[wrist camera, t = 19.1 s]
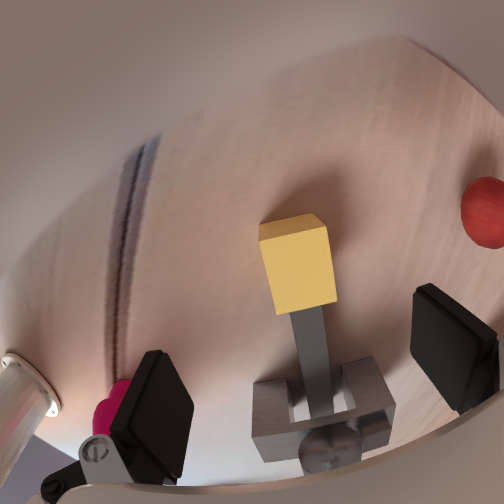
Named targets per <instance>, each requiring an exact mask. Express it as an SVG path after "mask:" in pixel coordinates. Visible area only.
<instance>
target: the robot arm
mask: <svg viewBox="0 0 504 504" xmlns="http://www.w3.org/2000/svg"><path fill="white" fill-rule="evenodd" d="M496 338H497V333H496V332H495V331H494V330H492V329H491V328H490V327H489V326H487V325H486V324H485V323H484V322H482V321H481V320H480V319H479V318H477V317H476V316H475V315H474V314H472V313H471V312H470V311H468V310H467V309H466V308H464V307H463V306H462V305H461V304H459V303H458V302H457V301H455V300H454V299H453V298H451V297H450V296H448V295H447V294H446V293H444V292H443V291H442V290H440V289H439V288H437V287H436V286H435V285H433V284H432V283H428V284H425V285H422V286H419V287H418V288H417V289H416V292H414V294H413V311H412V330H411V343H410V352H411V355H412V356H413V358H414V359H415V360H416V362H417V363H418V364H419V366H420V367H421V368H422V370H423V371H424V372H425V373H426V375H427V376H428V377H429V379H430V380H431V381H432V383H433V384H434V386H435V387H436V388H437V390H438V391H439V392H440V394H441V395H442V396H443V398H444V399H445V401H446V402H447V403H448V405H449V406H450V408H451V409H452V410H454V411H455V410H456V411H457V412H458V413H459V415H460V417H458V418H456V419H454V420H453V421H451V422H449V423H447V424H446V425H444V426H442V427H440V428H438V429H436V430H434V431H432V432H430V433H428V434H426V435H424V436H422V437H420V438H418V439H416V440H414V441H411V442H409V443H407V444H405V445H402V446H400V447H397V448H395V449H393V450H390V451H387V452H385V453H382V454H380V455H377V456H374V457H371V458H368V459H365V460H362V461H359V462H356V463H353V464H350V465H346V466H343V467H339V468H336V469H332V470H328V471H324V472H320V473H316V474H311V475H306V476H301V477H296V478H291V479H285V480H279V481H272V482H264V483H256V484H245V485H232V486H166V485H176V484H177V478H180V477H181V476H182V471H183V465H184V460H185V454H186V449H187V443H188V438H189V433H190V428H191V422H192V417H193V412H194V404H193V401H192V399H191V397H190V395H189V394H188V392H187V390H186V388H185V386H184V384H183V383H182V381H181V379H180V377H179V375H178V373H177V371H176V369H175V367H174V365H173V363H172V361H171V359H170V357H169V355H168V354H167V353H164V352H163V351H162V350H155V351H148V352H146V353H145V355H144V357H143V359H142V361H141V363H140V365H139V367H138V369H137V371H136V373H135V375H134V377H133V379H132V381H131V383H130V385H129V387H128V389H127V391H126V393H125V395H124V397H123V400H122V402H121V404H120V406H119V408H118V410H117V412H116V415H115V417H114V419H113V421H112V423H111V425H110V428H109V431H110V435H109V436H107V435H103V434H97V435H93V436H91V437H89V438H88V439H86V440H85V441H84V442H83V443H82V445H81V446H80V448H79V452H78V454H79V460H78V461H77V462H75V463H73V464H71V465H69V466H67V467H65V468H63V469H61V470H59V471H57V472H55V473H53V474H51V475H49V476H48V477H46V478H45V479H44V481H43V483H42V485H41V495H40V494H39V493H37V494H35V495H34V496H33V497H32V498H31V499H30V500H28V501H27V502H26V503H25V504H504V336H503V337H502V338H501V339H500V341H498V340H497V339H496ZM2 368H3V372H2V373H1V374H0V490H1V487H2V485H3V483H4V482H5V480H6V478H7V476H8V474H9V472H10V471H11V469H12V467H13V466H14V464H15V462H16V460H17V459H18V457H19V456H20V454H21V452H22V451H23V449H24V447H25V446H26V444H27V443H28V441H29V439H30V438H31V436H32V435H33V433H34V432H35V430H36V429H37V427H38V426H39V424H40V423H41V421H42V420H43V418H44V417H45V415H47V416H52V417H54V416H57V415H58V414H59V412H60V410H61V406H60V402H59V400H58V398H57V396H56V394H55V392H54V391H53V389H52V388H51V386H50V385H49V384H48V383H47V381H46V380H45V379H44V378H43V377H42V376H41V374H40V373H39V372H38V371H37V370H36V369H35V368H34V367H32V366H31V365H30V364H29V363H28V362H27V361H25V360H24V359H23V358H21V357H19V356H18V355H16V354H13V353H7V354H5V355H4V356H3V358H2ZM471 408H472V409H471ZM470 409H471V410H470ZM469 410H470V411H469ZM467 411H468V412H467ZM465 412H467V413H465ZM464 413H465V414H464ZM462 414H463V415H462ZM163 484H165V485H163Z"/></svg>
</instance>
